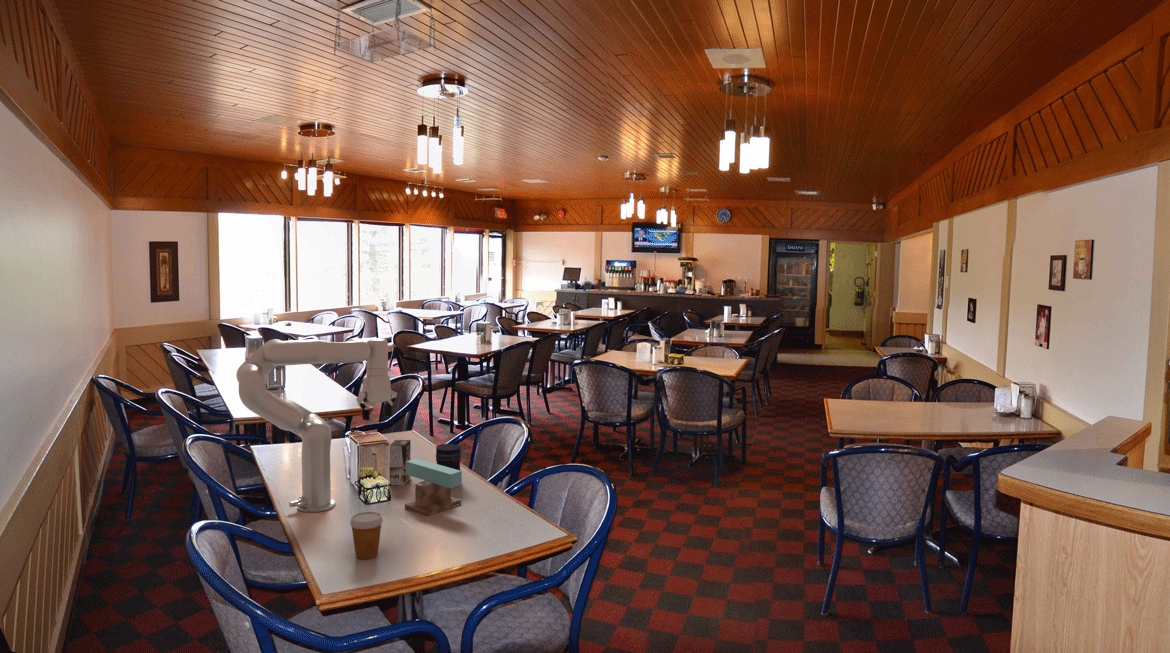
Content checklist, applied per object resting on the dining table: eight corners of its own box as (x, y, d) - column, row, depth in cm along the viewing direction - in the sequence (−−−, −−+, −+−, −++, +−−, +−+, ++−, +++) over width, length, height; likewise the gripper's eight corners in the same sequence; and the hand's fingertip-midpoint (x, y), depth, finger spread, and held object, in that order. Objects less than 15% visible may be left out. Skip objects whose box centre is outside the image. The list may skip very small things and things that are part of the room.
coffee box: (405, 485, 275) (404, 445, 274) (388, 485, 276) (388, 445, 274) (411, 478, 285) (411, 439, 283) (395, 478, 285) (395, 439, 283)
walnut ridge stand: (427, 516, 244) (427, 488, 243) (404, 508, 251) (404, 481, 250) (461, 503, 257) (461, 477, 256) (438, 496, 264) (438, 471, 263)
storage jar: (430, 485, 276) (430, 448, 275) (443, 478, 286) (443, 442, 284) (453, 488, 273) (453, 451, 272) (465, 481, 282) (465, 445, 281)
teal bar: (406, 474, 258) (406, 461, 257) (416, 471, 262) (416, 458, 261) (450, 488, 244) (450, 474, 243) (461, 484, 248) (461, 471, 247)
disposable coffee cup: (386, 548, 216) (386, 511, 215) (378, 562, 206) (378, 522, 205) (355, 548, 215) (355, 510, 214) (345, 562, 206) (345, 522, 205)
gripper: (390, 368, 266) (390, 412, 268) (350, 373, 252) (350, 420, 254) (402, 370, 262) (402, 415, 263) (363, 375, 248) (363, 423, 250)
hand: (377, 417), depth 259 cm, fingers open, 9 cm apart
